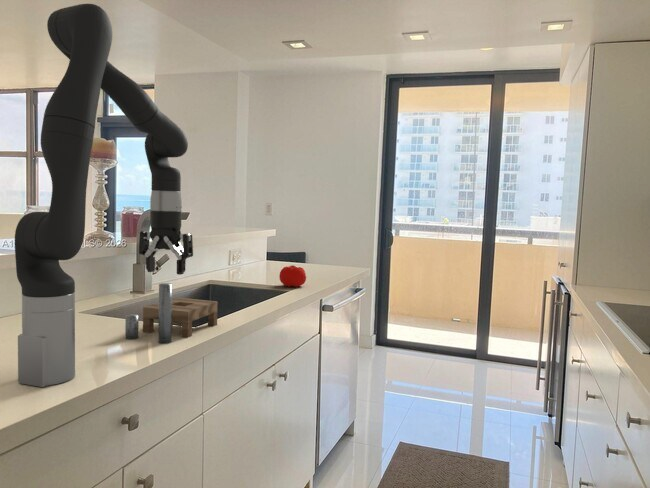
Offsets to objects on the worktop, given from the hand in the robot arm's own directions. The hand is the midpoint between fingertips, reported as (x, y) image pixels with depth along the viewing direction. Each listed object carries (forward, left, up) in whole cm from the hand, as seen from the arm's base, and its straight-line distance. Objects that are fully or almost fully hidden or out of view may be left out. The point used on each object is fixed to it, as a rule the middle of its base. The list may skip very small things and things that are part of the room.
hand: (165, 273), depth 130 cm
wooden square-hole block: (+14, +4, -18) cm, 23 cm away
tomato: (+100, +2, -18) cm, 102 cm away
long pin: (0, 0, -18) cm, 18 cm away
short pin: (0, +10, -18) cm, 21 cm away
